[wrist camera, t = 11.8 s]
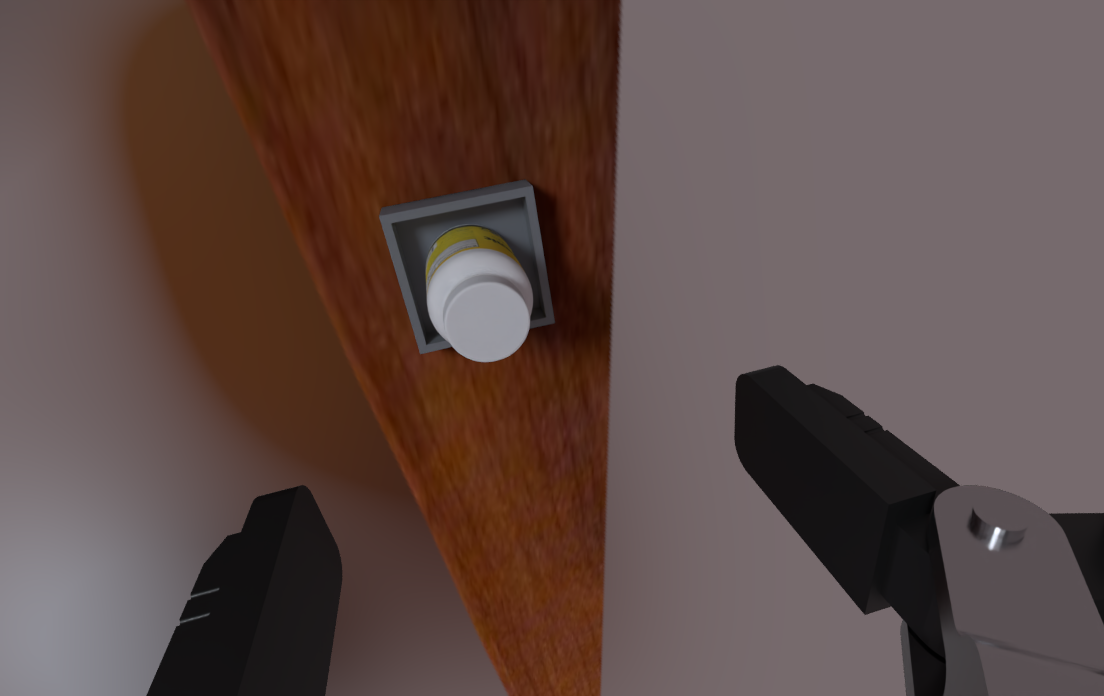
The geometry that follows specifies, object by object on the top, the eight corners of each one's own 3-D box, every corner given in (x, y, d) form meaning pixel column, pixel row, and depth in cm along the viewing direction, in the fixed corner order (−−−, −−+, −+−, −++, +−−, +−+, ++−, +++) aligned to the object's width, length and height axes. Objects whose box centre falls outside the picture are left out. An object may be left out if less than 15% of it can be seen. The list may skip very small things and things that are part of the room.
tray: (381, 207, 31) (379, 216, 29) (525, 179, 32) (532, 185, 30) (420, 338, 35) (420, 354, 33) (547, 309, 36) (554, 323, 34)
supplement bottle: (527, 281, 35) (563, 344, 26) (452, 320, 35) (463, 396, 26) (488, 205, 32) (513, 246, 23) (407, 247, 32) (403, 304, 23)
